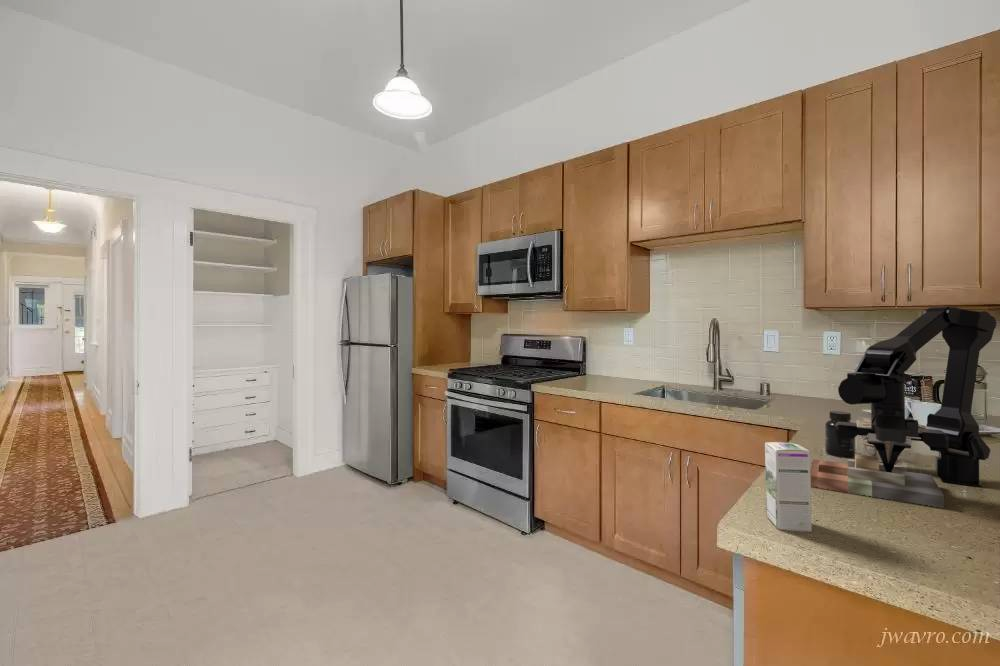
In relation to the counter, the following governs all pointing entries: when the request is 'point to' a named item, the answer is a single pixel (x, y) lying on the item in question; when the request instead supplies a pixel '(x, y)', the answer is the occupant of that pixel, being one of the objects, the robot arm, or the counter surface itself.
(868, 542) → the counter surface
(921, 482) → the channel deck
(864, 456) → the maple block
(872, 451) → the carving
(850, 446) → the supplement bottle
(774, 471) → the syrup box
